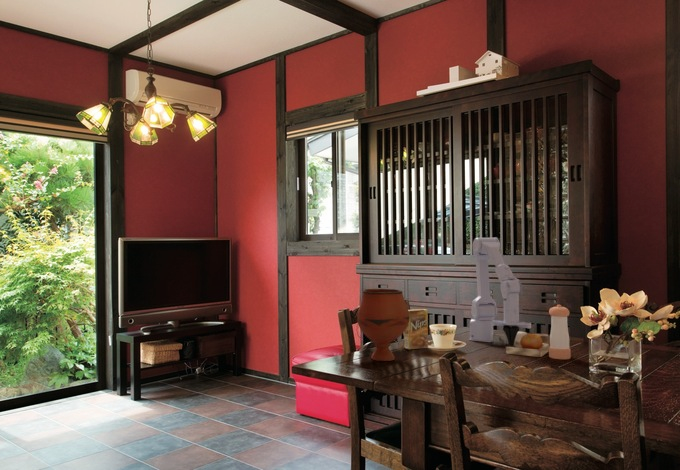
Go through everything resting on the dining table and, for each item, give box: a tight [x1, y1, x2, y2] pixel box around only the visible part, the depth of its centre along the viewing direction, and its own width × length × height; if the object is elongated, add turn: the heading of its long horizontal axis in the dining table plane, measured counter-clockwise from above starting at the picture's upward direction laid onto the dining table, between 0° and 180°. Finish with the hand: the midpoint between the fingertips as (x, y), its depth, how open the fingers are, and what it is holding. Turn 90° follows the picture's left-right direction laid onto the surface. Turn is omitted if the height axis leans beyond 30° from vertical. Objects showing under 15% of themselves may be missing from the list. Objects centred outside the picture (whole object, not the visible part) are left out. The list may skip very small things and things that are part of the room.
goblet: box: [356, 288, 409, 362], centre depth 198 cm, size 19×19×25 cm
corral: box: [505, 341, 550, 358], centre depth 208 cm, size 13×14×2 cm
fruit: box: [520, 333, 542, 350], centre depth 208 cm, size 8×8×8 cm
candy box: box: [403, 308, 429, 350], centre depth 217 cm, size 9×4×15 cm, turn 113°
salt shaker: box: [548, 304, 572, 360], centre depth 199 cm, size 7×7×19 cm
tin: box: [492, 333, 506, 347], centre depth 223 cm, size 5×5×4 cm
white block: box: [513, 331, 528, 347], centre depth 223 cm, size 6×6×5 cm
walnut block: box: [536, 333, 550, 345], centre depth 217 cm, size 5×5×5 cm
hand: (511, 345), depth 212 cm, fingers closed
